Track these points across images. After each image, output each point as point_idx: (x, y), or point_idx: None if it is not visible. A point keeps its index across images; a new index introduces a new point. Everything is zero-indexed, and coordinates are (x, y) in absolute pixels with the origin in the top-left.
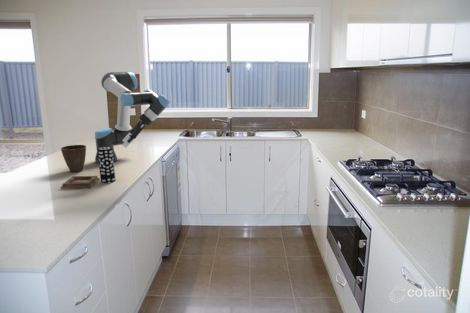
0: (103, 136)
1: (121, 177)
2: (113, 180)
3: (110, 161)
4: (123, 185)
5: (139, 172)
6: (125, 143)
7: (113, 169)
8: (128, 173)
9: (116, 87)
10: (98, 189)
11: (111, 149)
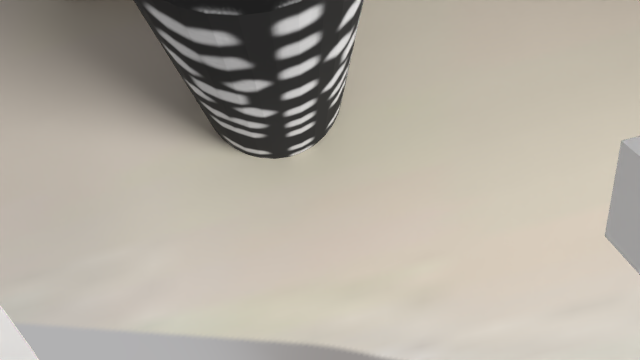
0: None
1: (391, 189)
2: (239, 148)
3: (187, 74)
4: (117, 281)
5: (570, 343)
6: None
7: (244, 127)
8: (533, 227)
9: None
10: (25, 74)
11: (200, 19)
